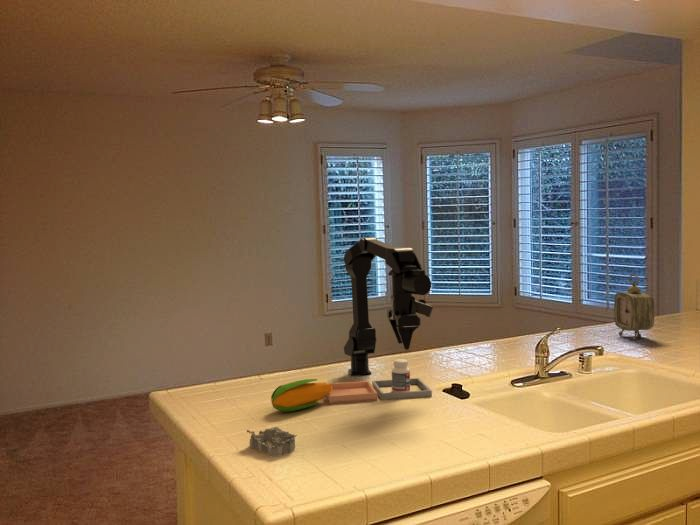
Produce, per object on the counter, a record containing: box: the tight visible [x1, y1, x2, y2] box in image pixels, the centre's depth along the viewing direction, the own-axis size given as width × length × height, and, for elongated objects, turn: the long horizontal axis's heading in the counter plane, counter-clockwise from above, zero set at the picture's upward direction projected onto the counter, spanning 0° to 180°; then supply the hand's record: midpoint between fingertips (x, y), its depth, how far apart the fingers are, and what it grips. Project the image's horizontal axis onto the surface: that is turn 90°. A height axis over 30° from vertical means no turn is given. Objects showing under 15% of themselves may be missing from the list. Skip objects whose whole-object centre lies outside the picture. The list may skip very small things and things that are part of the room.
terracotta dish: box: [325, 380, 378, 405], centre depth 184 cm, size 13×13×2 cm
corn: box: [270, 378, 333, 413], centre depth 174 cm, size 7×8×20 cm
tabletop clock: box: [613, 274, 656, 341], centre depth 255 cm, size 14×9×25 cm, turn 6°
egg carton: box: [246, 426, 298, 457], centre depth 144 cm, size 11×8×4 cm
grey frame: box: [371, 377, 433, 400], centre depth 188 cm, size 14×14×2 cm
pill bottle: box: [391, 358, 411, 393], centre depth 187 cm, size 5×5×9 cm
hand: (403, 346), depth 187 cm, fingers open, 9 cm apart
